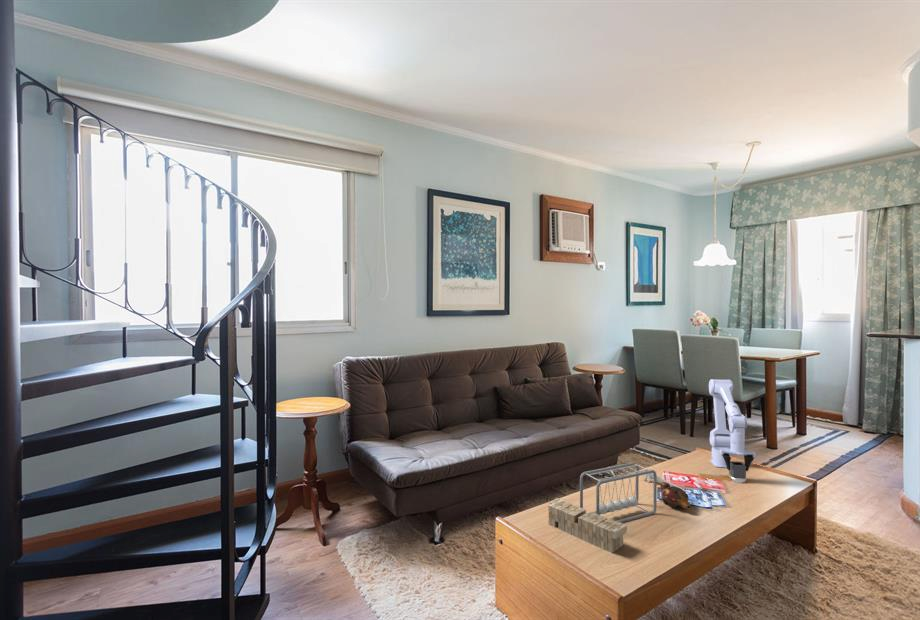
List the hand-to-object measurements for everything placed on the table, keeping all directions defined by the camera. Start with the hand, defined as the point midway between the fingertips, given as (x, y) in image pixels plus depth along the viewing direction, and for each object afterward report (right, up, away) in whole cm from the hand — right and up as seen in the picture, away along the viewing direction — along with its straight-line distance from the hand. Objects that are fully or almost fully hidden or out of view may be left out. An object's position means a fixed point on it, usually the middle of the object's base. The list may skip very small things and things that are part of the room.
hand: (737, 470), depth 209 cm
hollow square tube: (0, -3, 0) cm, 3 cm away
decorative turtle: (-42, -6, -26) cm, 50 cm away
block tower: (-86, -7, -48) cm, 99 cm away
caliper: (-37, -6, -8) cm, 38 cm away
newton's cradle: (-68, -6, -34) cm, 76 cm away
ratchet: (-6, -5, +1) cm, 8 cm away
